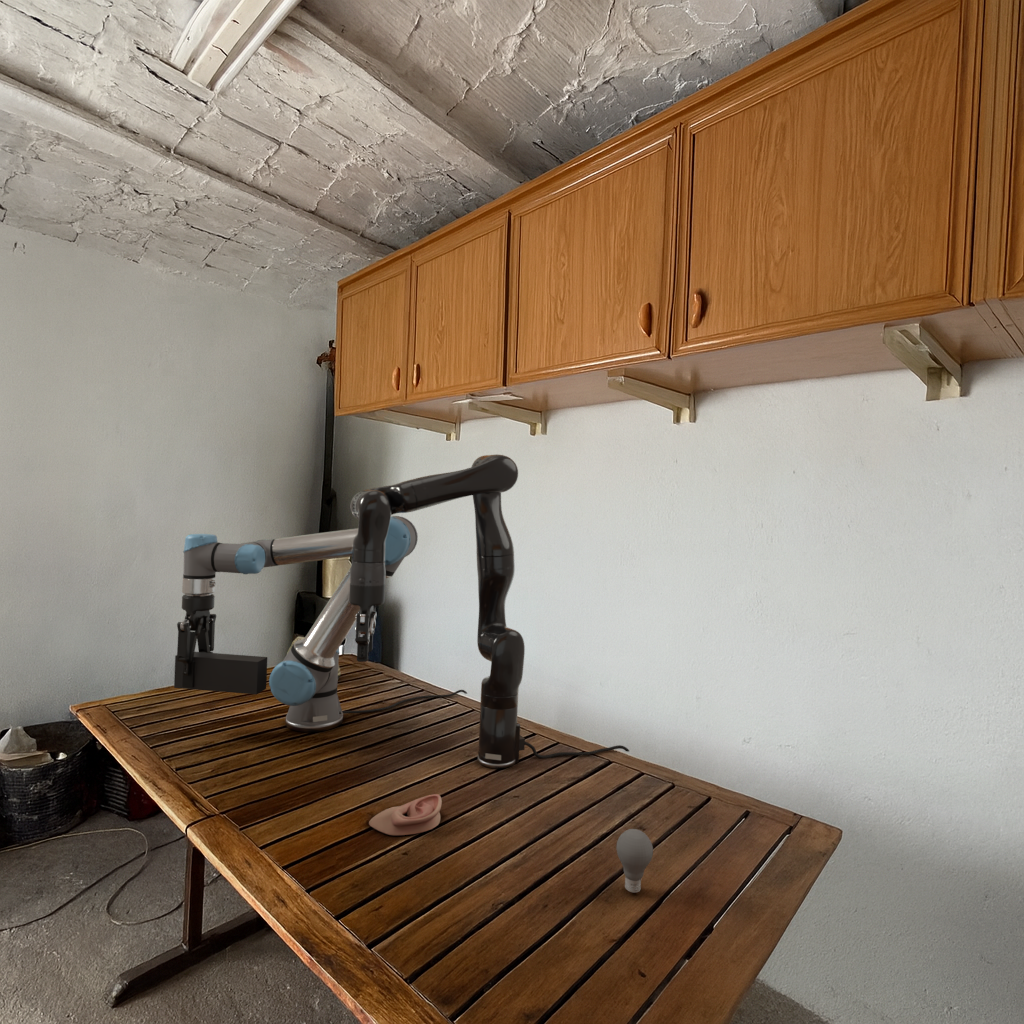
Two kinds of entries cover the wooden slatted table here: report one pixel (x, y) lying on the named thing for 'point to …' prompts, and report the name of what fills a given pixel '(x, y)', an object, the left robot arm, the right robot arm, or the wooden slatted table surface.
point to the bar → (225, 673)
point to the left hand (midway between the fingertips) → (194, 683)
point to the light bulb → (634, 857)
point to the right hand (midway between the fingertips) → (364, 656)
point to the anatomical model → (409, 817)
